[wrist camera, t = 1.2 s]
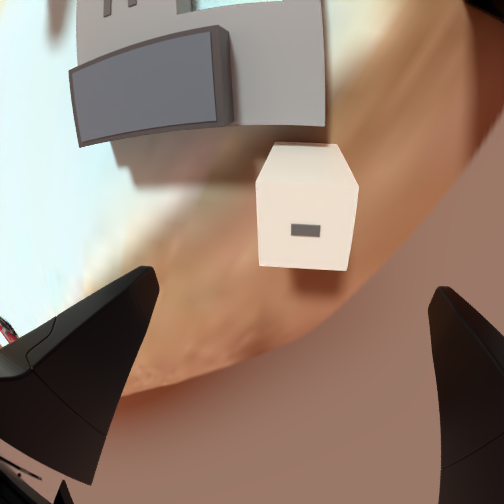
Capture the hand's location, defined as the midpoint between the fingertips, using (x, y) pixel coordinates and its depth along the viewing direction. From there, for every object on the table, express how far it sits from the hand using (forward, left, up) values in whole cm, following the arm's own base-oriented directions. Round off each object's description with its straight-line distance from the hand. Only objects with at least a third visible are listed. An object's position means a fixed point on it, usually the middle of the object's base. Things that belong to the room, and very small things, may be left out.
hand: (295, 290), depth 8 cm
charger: (0, 0, -12) cm, 12 cm away
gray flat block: (+9, -6, -10) cm, 14 cm away
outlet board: (+7, -12, -12) cm, 18 cm away
